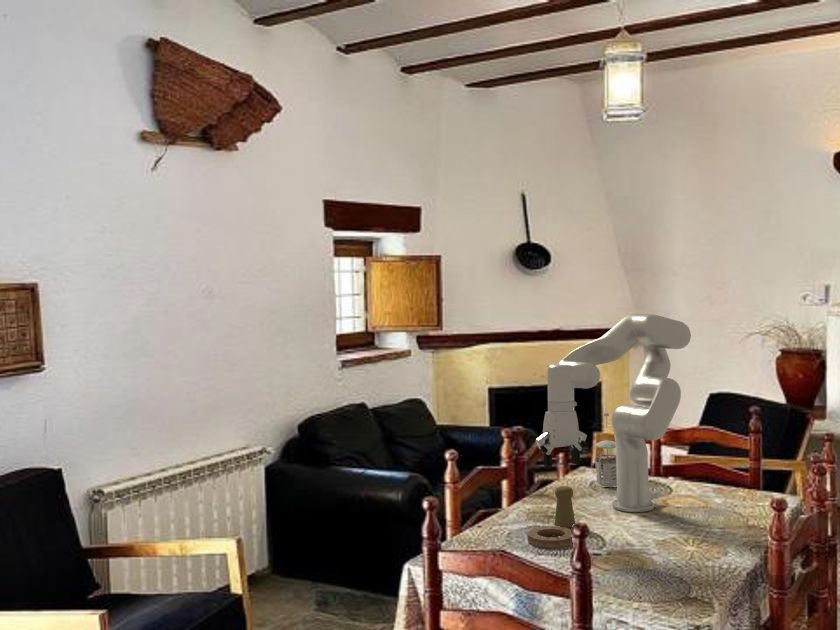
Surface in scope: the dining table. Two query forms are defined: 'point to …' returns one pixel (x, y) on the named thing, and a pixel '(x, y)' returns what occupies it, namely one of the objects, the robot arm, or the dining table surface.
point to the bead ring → (550, 542)
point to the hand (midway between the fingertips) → (562, 465)
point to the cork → (564, 507)
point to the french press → (606, 464)
